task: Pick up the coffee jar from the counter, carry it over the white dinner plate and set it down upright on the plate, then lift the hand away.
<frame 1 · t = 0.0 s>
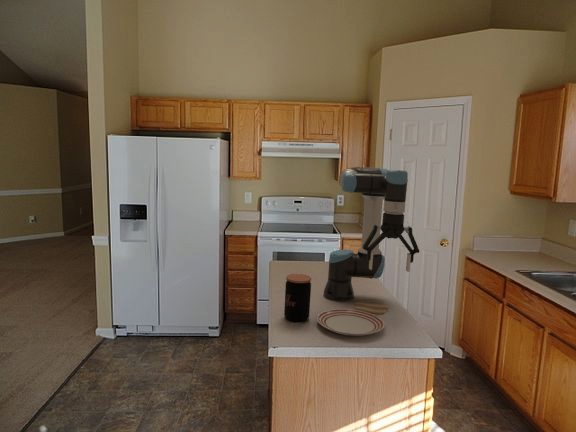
hand: (388, 269, 148), 28 cm above the countertop, tool pointing down, fingers open, 13 cm apart
dinner plate: (349, 327, 165), on the countertop
cork trivet: (370, 308, 187), on the countertop
coffee jar: (296, 318, 171), on the countertop
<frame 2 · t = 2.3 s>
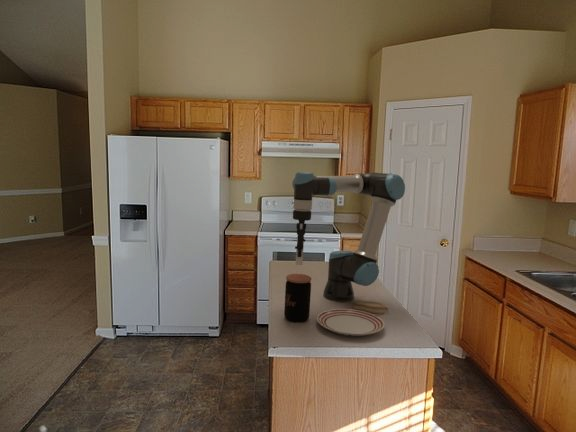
hand: (299, 260, 167), 25 cm above the countertop, tool pointing down, fingers open, 13 cm apart
nothing on the countertop moved.
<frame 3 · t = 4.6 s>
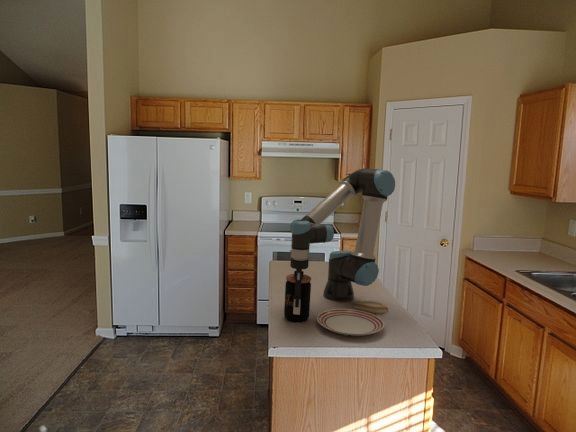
hand: (296, 309, 170), 4 cm above the countertop, tool pointing down, fingers closed on coffee jar, 11 cm apart
coffee jar: (296, 318, 171), on the countertop, touching gripper
everything else where it was.
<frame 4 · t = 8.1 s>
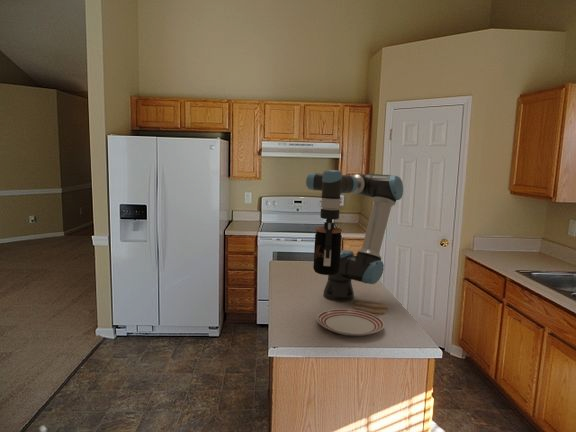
hand: (326, 262, 164), 26 cm above the countertop, tool pointing down, fingers closed on coffee jar, 11 cm apart
coffee jar: (326, 272, 165), point 22 cm above the countertop, touching gripper
everything else where it was.
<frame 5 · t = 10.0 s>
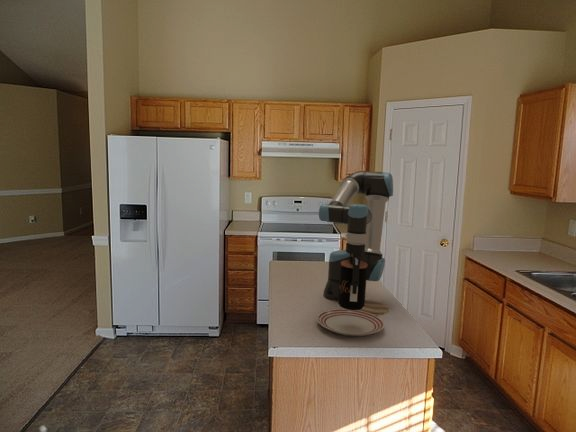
hand: (351, 296, 163), 13 cm above the countertop, tool pointing down, fingers closed on coffee jar, 11 cm apart
coffee jar: (350, 306, 163), point 9 cm above the countertop, touching gripper
everything else where it was.
when the fingers open (8 cm above the countertop, at t = 11.5 s): coffee jar drops 1 cm, resting on dinner plate.
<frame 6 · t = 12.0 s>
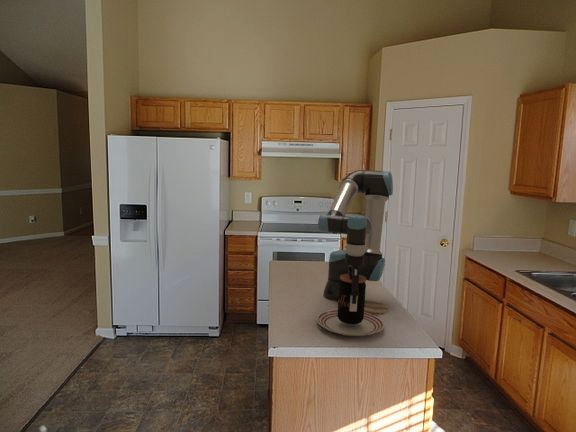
hand: (351, 305, 163), 9 cm above the countertop, tool pointing down, fingers open, 13 cm apart
dinner plate: (349, 328, 165), on the countertop, touching coffee jar
coffee jar: (350, 320, 164), point 3 cm above the countertop, touching dinner plate
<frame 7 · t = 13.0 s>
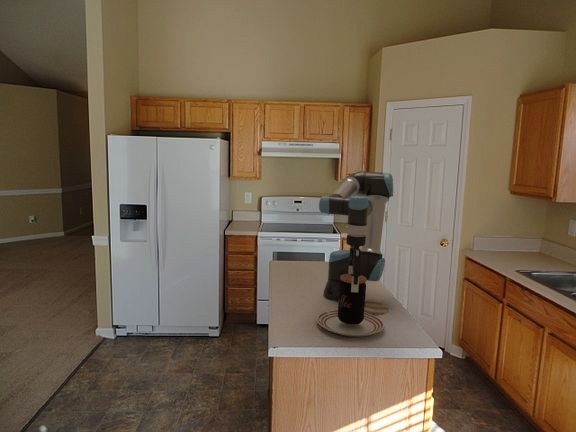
hand: (352, 286, 163), 17 cm above the countertop, tool pointing down, fingers open, 13 cm apart
nothing on the countertop moved.
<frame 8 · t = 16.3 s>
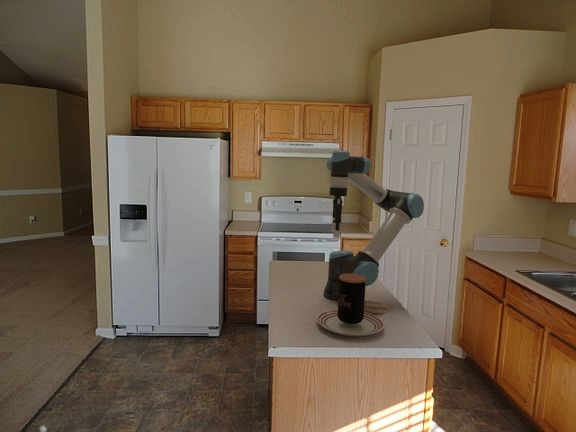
hand: (335, 234, 177), 35 cm above the countertop, tool pointing down, fingers open, 13 cm apart
nothing on the countertop moved.
at the end: coffee jar inside the target area on the dinner plate (0.1 cm from its centre), point 3.4 cm above the dinner plate's base; coffee jar tilted 1°; the gripper is holding nothing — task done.
